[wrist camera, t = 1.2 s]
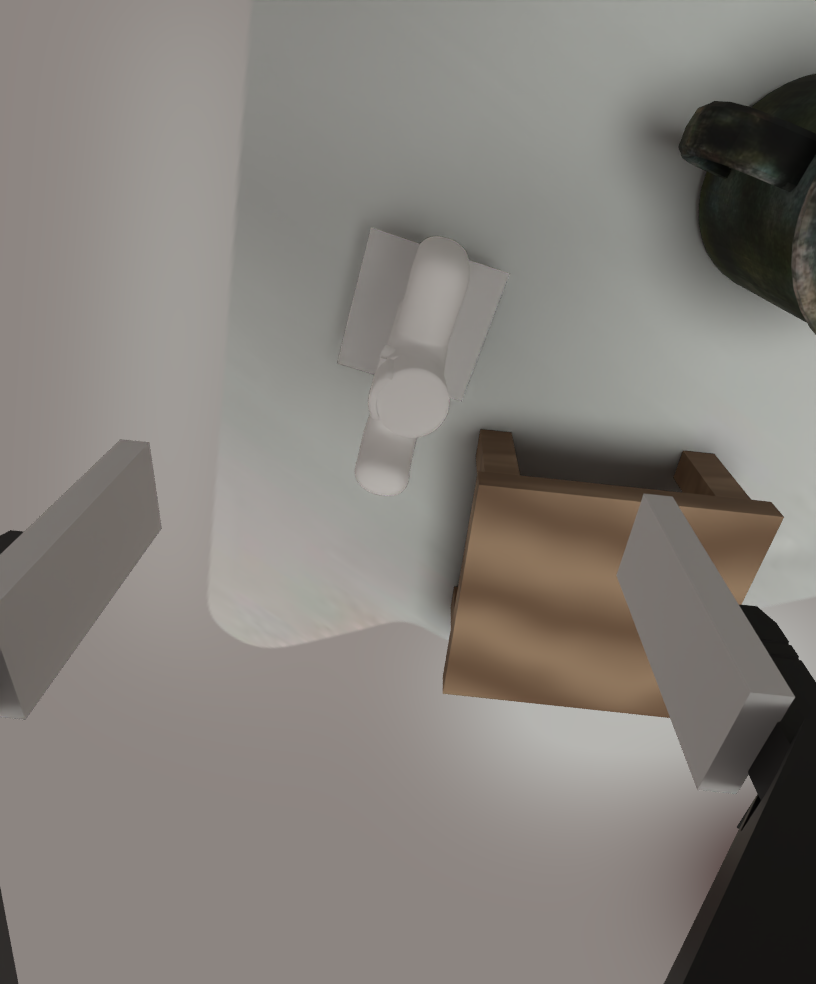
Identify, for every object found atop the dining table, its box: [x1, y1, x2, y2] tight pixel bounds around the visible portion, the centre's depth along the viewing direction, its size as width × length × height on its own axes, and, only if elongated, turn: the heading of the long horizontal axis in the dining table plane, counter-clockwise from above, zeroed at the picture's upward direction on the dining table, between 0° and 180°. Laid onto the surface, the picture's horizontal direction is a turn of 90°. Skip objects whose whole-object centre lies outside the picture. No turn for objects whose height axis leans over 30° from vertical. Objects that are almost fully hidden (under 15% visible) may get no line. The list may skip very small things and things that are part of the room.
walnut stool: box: [443, 429, 784, 718], centre depth 40 cm, size 16×16×8 cm
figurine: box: [337, 227, 510, 496], centre depth 29 cm, size 7×9×15 cm
